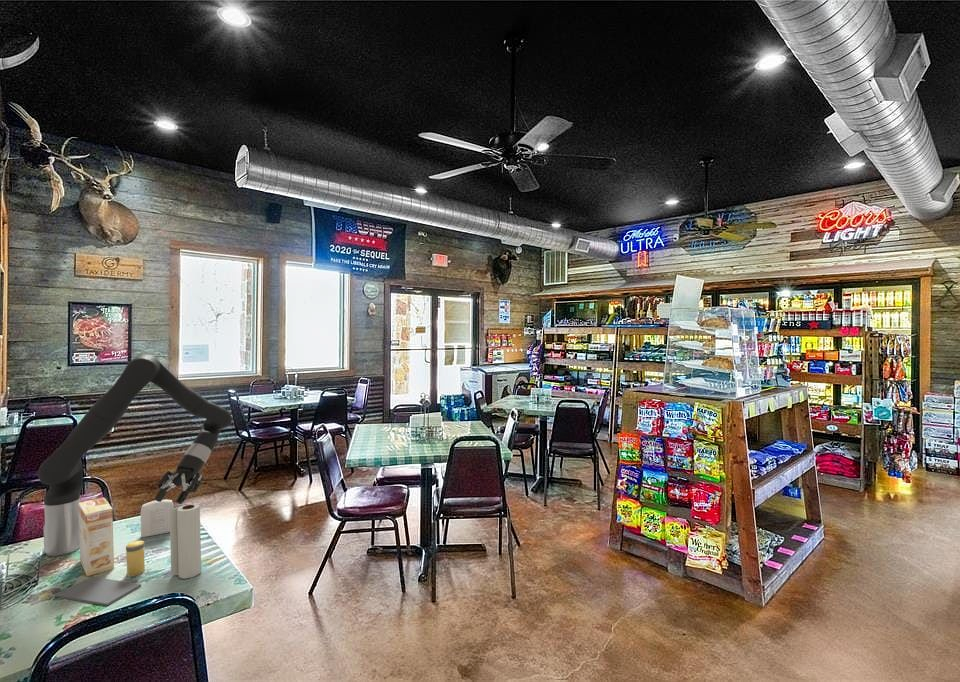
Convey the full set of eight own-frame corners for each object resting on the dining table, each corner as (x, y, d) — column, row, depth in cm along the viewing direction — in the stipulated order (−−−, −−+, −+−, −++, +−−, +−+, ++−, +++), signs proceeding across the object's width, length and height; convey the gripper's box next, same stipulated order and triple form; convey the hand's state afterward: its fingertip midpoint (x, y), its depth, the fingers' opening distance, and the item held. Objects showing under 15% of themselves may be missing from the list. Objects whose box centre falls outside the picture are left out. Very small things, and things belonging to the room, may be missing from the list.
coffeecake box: (115, 568, 149) (113, 508, 149) (86, 577, 144) (84, 514, 144) (106, 552, 160) (104, 496, 159) (79, 560, 154) (77, 502, 154)
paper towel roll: (205, 570, 148) (204, 504, 147) (188, 580, 142) (186, 511, 141) (188, 567, 150) (187, 501, 149) (171, 576, 144) (169, 508, 144)
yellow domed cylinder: (123, 575, 145) (122, 546, 145) (136, 567, 150) (136, 540, 150) (134, 576, 144) (134, 548, 144) (148, 569, 149) (147, 541, 148)
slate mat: (55, 596, 134) (54, 594, 134) (91, 578, 144) (91, 576, 144) (107, 605, 129) (107, 603, 129) (141, 586, 139) (141, 584, 139)
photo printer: (174, 527, 179) (173, 496, 179) (174, 532, 176) (173, 499, 175) (141, 534, 174) (140, 501, 173) (140, 539, 170) (139, 505, 170)
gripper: (171, 452, 168) (143, 495, 157) (205, 454, 165) (178, 498, 154) (184, 462, 173) (157, 505, 162) (217, 465, 170) (192, 508, 159)
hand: (167, 501), depth 158 cm, fingers open, 8 cm apart
